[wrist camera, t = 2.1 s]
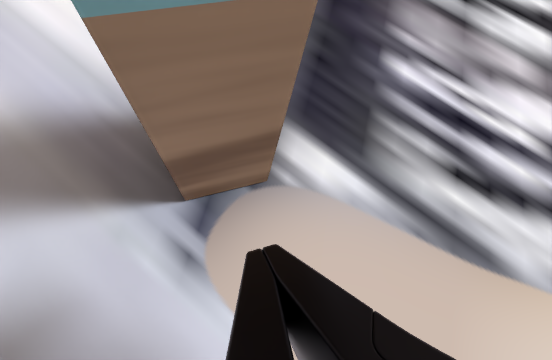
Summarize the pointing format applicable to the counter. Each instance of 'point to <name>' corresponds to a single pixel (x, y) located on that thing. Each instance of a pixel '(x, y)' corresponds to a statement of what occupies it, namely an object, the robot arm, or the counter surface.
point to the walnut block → (205, 80)
